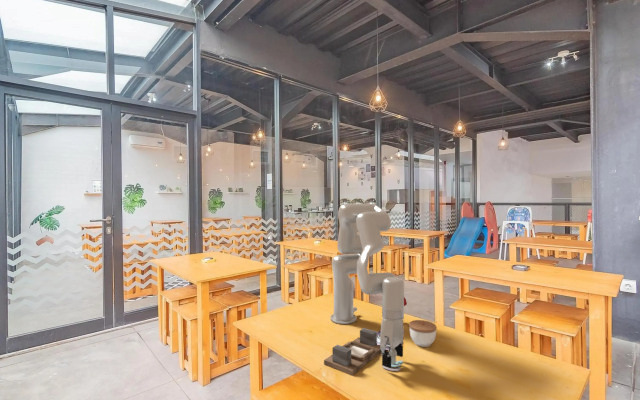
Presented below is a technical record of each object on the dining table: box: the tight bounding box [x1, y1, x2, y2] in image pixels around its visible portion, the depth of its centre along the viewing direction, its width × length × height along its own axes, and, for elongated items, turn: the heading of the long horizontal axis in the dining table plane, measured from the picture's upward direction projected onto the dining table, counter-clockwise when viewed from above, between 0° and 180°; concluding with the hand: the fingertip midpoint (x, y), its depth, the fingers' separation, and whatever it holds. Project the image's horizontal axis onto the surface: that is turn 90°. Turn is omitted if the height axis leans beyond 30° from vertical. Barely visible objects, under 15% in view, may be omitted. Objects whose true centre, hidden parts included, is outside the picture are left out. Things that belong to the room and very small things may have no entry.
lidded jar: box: [408, 319, 438, 348], centre depth 136 cm, size 11×11×9 cm
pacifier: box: [381, 349, 404, 372], centre depth 118 cm, size 7×6×6 cm
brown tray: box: [323, 327, 381, 376], centre depth 125 cm, size 24×12×6 cm, turn 143°
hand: (392, 361), depth 118 cm, fingers open, 9 cm apart
